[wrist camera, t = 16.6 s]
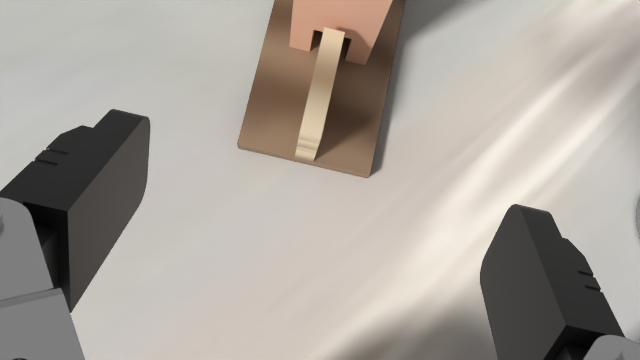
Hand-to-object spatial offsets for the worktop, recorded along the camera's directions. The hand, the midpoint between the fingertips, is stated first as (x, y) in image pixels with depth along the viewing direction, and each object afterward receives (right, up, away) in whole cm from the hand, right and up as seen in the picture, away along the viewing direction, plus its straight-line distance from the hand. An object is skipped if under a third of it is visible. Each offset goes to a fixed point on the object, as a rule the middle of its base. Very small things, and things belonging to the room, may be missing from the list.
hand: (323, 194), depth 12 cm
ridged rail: (+1, +11, +32) cm, 34 cm away
